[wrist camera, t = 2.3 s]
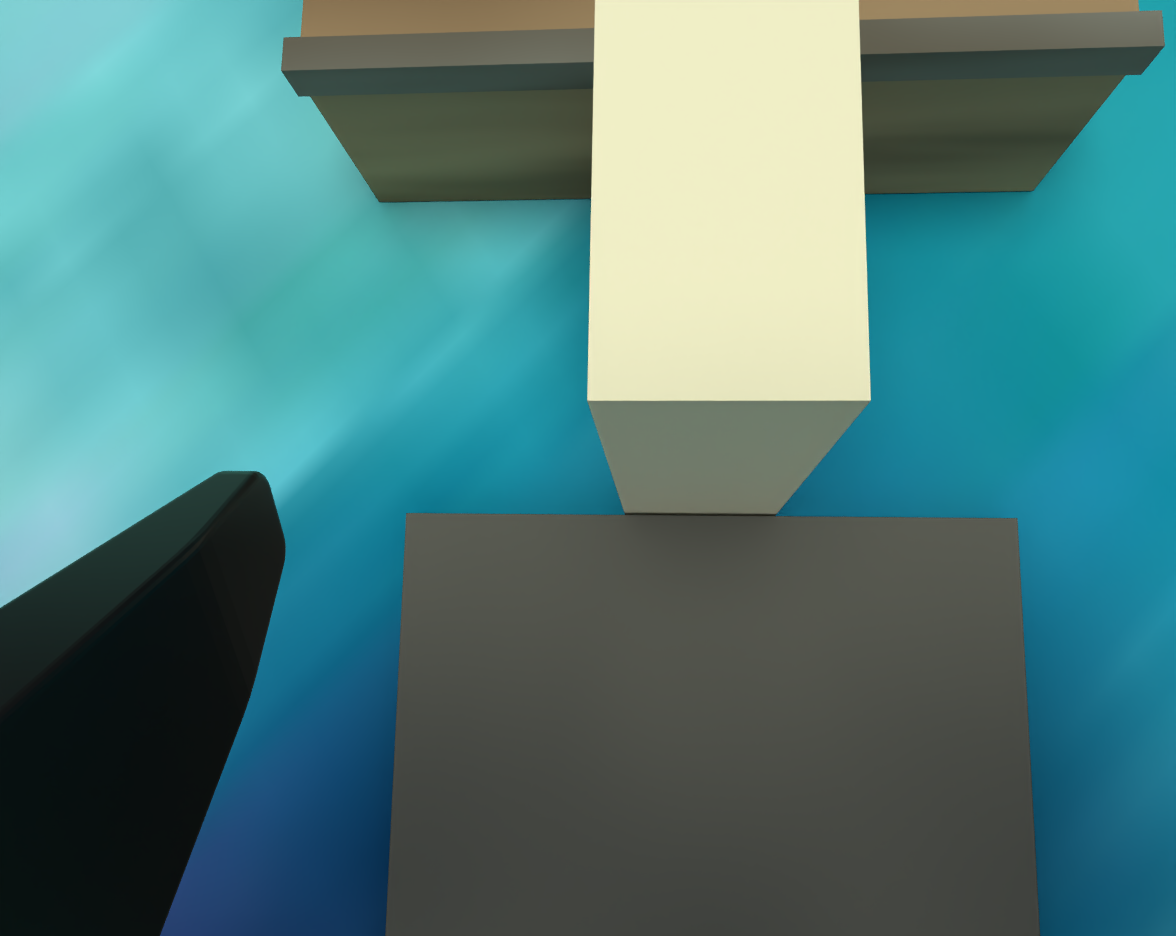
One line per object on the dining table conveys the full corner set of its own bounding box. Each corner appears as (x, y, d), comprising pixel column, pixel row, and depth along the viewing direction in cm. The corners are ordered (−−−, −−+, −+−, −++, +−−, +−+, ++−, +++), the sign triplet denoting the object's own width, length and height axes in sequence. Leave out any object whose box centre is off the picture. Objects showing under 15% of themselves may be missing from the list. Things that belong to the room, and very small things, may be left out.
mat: (1042, 1190, 18) (1054, 1208, 17) (383, 1150, 19) (374, 1167, 18) (1007, 521, 20) (1017, 518, 20) (413, 516, 21) (406, 512, 20)
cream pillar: (776, 517, 20) (875, 400, 11) (623, 515, 21) (582, 400, 11) (772, 237, 22) (860, -106, 12) (626, 238, 22) (592, -94, 12)
